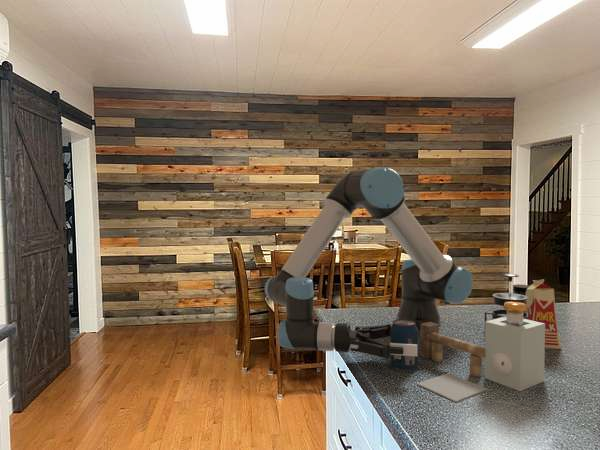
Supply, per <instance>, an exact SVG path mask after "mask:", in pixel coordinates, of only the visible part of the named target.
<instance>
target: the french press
mask: <svg viewBox="0 0 600 450" xmlns="http://www.w3.org/2000/svg"><path fill="white" fill-rule="evenodd" d="M501 276H503V277H507V280H508V282H509V290H508V291H509V292H497V293H493V294H492V297H493V301H494V302H493V303H494V304H495V305H497V306H501V307H504V303H505V302H520V303H524V302H525V301H526V300H528V297H527V296H525V295H521V294H514V293H513V292H512V290H511V289H512V282H513V278H519V275H518V274H516V273H503V274H501ZM487 314H488V315H491V316H492V317H491V320H493V319H497V318H501V317H505V315H507V310H506V309H495V310H492V311H487V310H486V311H485V312H484V323H485V322H486V321H488V320H487V317H488V315H487ZM503 315H504V316H503ZM523 319H527V320H528V314H526V313H524V312H523ZM483 341H484V342H485V337H484V340H483Z"/></svg>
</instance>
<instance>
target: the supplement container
mask: <svg viewBox="0 0 600 450" xmlns="http://www.w3.org/2000/svg"><path fill="white" fill-rule="evenodd" d="M530 286H531V285H528V284H519V283H518V284H513V285H512V293H514V294H521V295H526V290H527V288H529V287H530Z"/></svg>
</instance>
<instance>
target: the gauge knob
mask: <svg viewBox="0 0 600 450" xmlns="http://www.w3.org/2000/svg"><path fill="white" fill-rule="evenodd" d="M503 310H507V314H506V316H507V324H510V325H514V326H518V327H520V326H523V311H526V304H524V303H520V302H505V303H504V306H503Z"/></svg>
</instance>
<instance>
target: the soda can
mask: <svg viewBox="0 0 600 450" xmlns="http://www.w3.org/2000/svg"><path fill="white" fill-rule="evenodd" d="M390 343H399V344H417V356H403V355H390V364H391V366H392V367H393V368H394V369H395V370H397V371H400V372H412V371H414V370H415V369H416V368H417V367H418V364H419V328H417V326H416V323H415V322H414V321H412V320H407V319H397V318H396V319H394V320H392V324H391V336H390Z"/></svg>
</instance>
